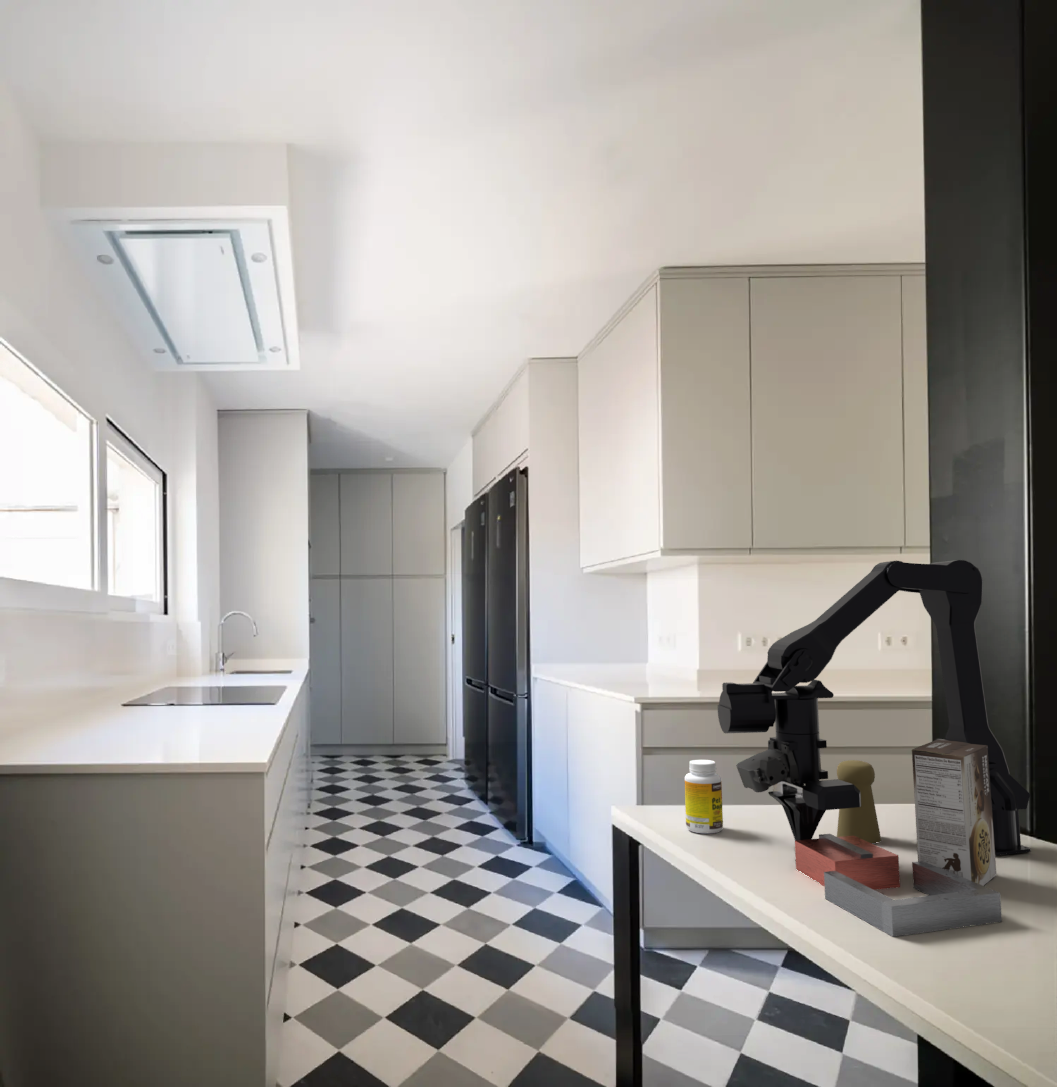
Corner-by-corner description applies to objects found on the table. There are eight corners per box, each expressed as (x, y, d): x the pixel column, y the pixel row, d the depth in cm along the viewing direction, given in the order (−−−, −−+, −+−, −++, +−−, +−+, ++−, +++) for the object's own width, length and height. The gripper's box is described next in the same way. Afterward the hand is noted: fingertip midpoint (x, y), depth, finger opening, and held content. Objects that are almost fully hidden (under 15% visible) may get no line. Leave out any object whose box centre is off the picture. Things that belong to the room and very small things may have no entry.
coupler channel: (924, 886, 97) (922, 860, 97) (1001, 921, 86) (1000, 892, 86) (825, 898, 94) (823, 871, 94) (892, 936, 83) (891, 906, 83)
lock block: (855, 866, 106) (853, 831, 106) (900, 889, 97) (898, 851, 98) (796, 872, 104) (794, 836, 105) (836, 896, 96) (834, 856, 96)
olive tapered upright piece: (885, 844, 114) (881, 765, 115) (840, 843, 116) (836, 764, 116) (876, 833, 120) (872, 757, 121) (833, 831, 121) (829, 757, 122)
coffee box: (943, 865, 105) (935, 738, 106) (998, 876, 101) (990, 743, 102) (916, 882, 99) (909, 747, 100) (974, 895, 94) (965, 753, 95)
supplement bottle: (716, 836, 120) (714, 766, 121) (680, 831, 123) (678, 763, 124) (728, 827, 125) (725, 759, 126) (693, 823, 128) (691, 757, 128)
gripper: (712, 725, 118) (715, 835, 117) (782, 745, 100) (787, 875, 99) (780, 721, 121) (784, 828, 120) (860, 740, 103) (866, 866, 102)
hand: (802, 848), depth 110 cm, fingers closed
